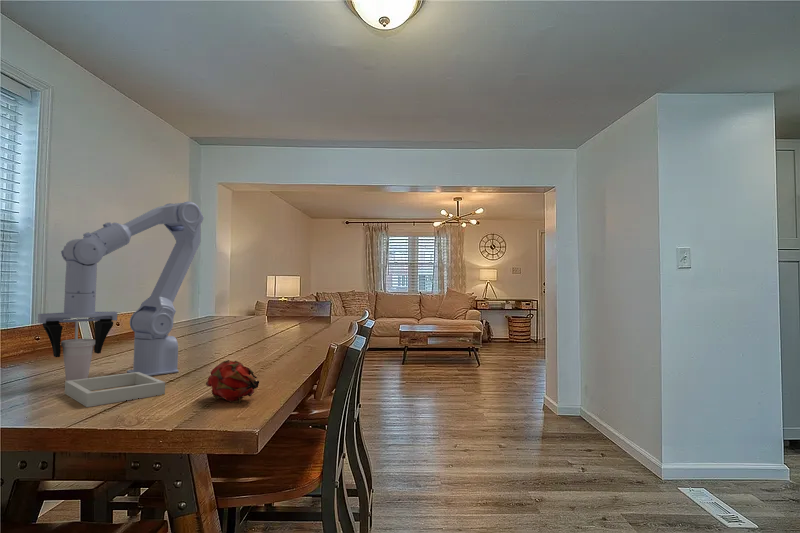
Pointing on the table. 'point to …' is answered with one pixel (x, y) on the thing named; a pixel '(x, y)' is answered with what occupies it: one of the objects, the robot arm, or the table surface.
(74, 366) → the smoothie
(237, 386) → the dragon fruit
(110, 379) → the white shallow square frame
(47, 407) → the table surface
